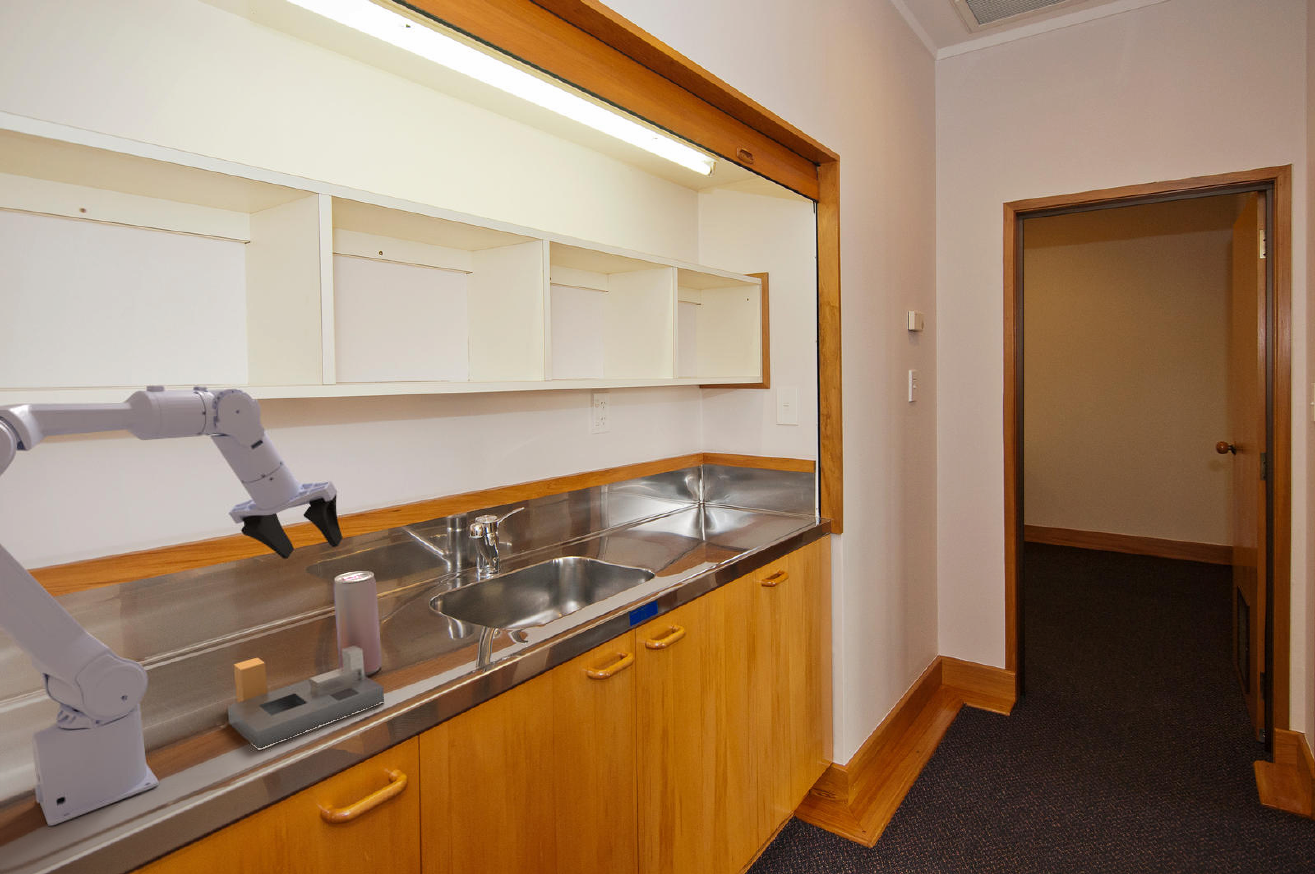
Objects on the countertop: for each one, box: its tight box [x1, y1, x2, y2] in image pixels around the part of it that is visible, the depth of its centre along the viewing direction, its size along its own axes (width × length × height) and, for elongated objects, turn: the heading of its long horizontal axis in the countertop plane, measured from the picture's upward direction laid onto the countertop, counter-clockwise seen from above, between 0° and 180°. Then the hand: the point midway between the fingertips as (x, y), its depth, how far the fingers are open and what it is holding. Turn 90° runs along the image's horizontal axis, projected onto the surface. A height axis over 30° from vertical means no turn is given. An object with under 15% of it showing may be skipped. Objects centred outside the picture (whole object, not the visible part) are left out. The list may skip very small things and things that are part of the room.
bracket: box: [309, 646, 365, 696], centre depth 98 cm, size 6×2×4 cm, turn 137°
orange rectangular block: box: [233, 657, 268, 703], centre depth 98 cm, size 3×3×6 cm
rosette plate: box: [227, 676, 385, 748], centre depth 95 cm, size 16×11×2 cm
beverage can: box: [332, 570, 383, 677], centre depth 108 cm, size 6×6×15 cm
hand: (313, 548), depth 100 cm, fingers open, 7 cm apart
